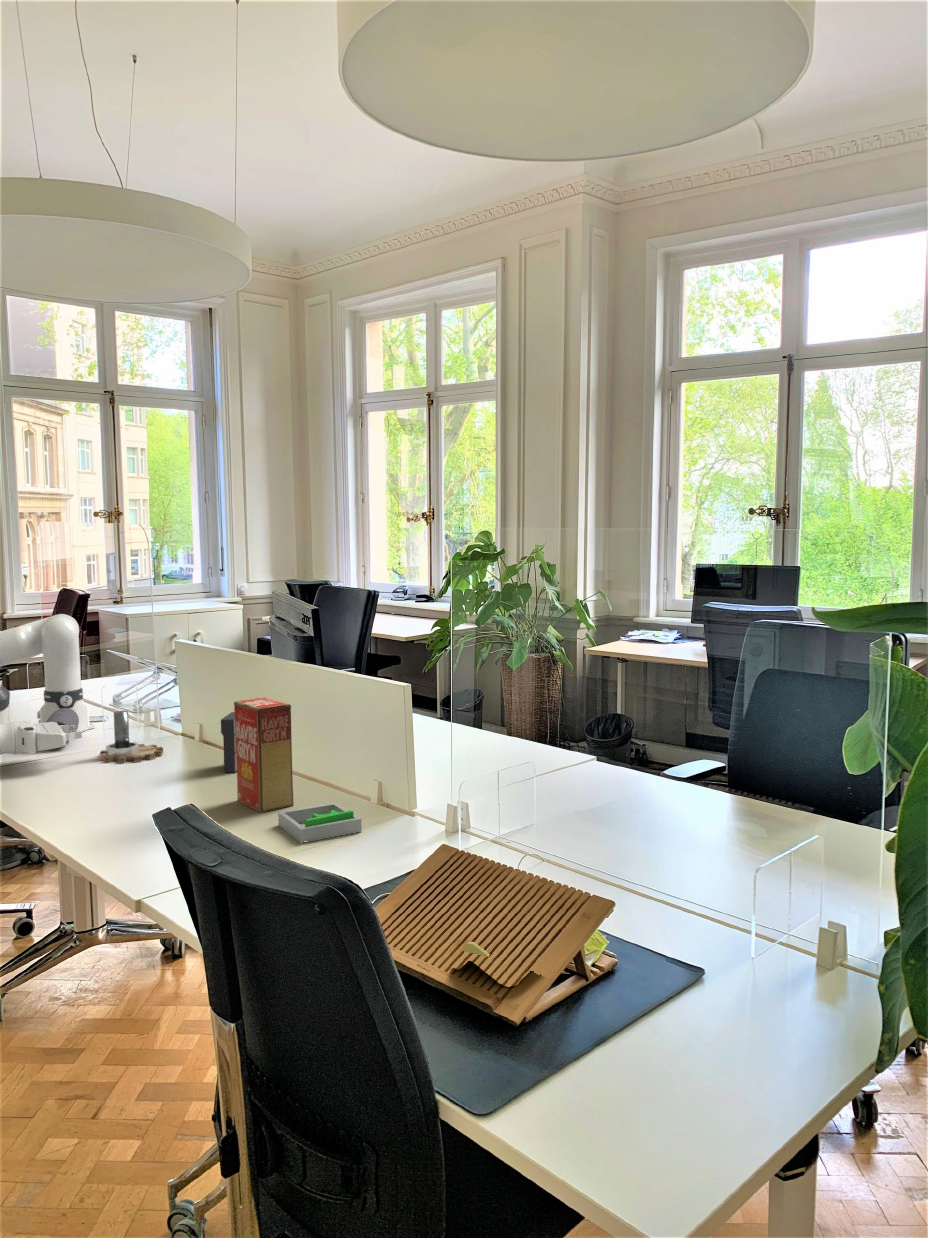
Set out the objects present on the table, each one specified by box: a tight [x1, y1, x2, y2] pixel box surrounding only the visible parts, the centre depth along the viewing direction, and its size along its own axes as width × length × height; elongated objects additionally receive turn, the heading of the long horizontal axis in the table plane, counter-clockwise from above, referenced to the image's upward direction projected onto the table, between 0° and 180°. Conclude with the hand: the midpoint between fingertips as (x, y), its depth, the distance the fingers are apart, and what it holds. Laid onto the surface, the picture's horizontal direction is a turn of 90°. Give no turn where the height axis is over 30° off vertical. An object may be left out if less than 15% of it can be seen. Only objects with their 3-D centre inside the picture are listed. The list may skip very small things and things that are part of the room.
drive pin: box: [113, 710, 130, 748], centre depth 264 cm, size 4×4×12 cm
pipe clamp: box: [304, 809, 354, 827], centre depth 196 cm, size 11×4×5 cm, turn 126°
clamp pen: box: [277, 802, 362, 843], centre depth 199 cm, size 14×14×3 cm
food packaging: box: [233, 697, 294, 813], centre depth 217 cm, size 13×9×25 cm
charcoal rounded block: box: [220, 711, 237, 774], centre depth 251 cm, size 11×4×15 cm, turn 179°
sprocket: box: [98, 741, 164, 764], centre depth 266 cm, size 18×18×4 cm
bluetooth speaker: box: [46, 708, 79, 748], centre depth 282 cm, size 23×9×10 cm, turn 17°
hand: (78, 731), depth 258 cm, fingers open, 8 cm apart
